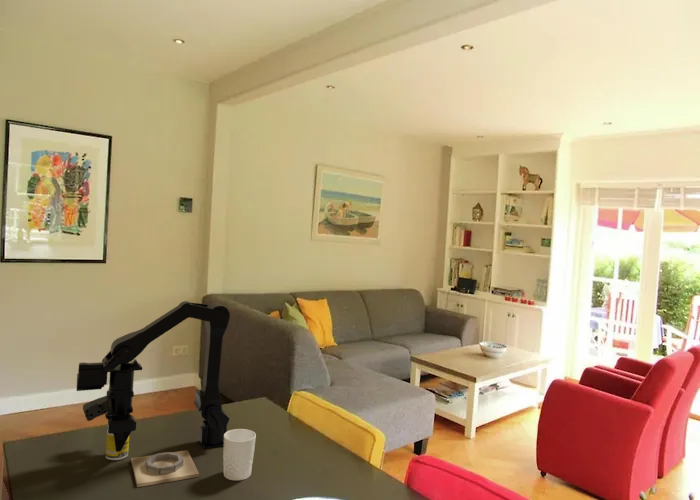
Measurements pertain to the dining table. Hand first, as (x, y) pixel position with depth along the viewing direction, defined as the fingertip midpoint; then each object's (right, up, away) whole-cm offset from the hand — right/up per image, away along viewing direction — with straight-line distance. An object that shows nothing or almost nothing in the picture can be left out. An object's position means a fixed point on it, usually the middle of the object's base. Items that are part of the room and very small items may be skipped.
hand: (117, 446), depth 128 cm
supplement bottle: (0, -3, 0) cm, 3 cm away
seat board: (+14, -4, -5) cm, 15 cm away
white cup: (+32, -5, -5) cm, 33 cm away
